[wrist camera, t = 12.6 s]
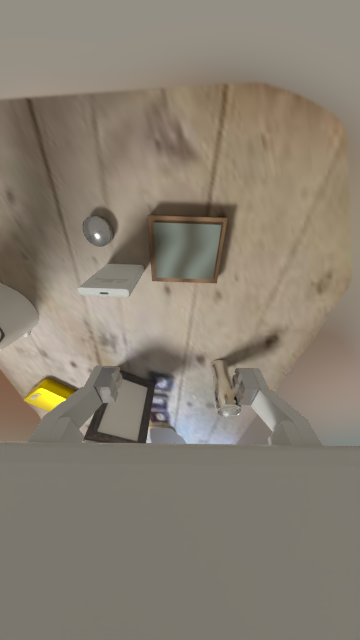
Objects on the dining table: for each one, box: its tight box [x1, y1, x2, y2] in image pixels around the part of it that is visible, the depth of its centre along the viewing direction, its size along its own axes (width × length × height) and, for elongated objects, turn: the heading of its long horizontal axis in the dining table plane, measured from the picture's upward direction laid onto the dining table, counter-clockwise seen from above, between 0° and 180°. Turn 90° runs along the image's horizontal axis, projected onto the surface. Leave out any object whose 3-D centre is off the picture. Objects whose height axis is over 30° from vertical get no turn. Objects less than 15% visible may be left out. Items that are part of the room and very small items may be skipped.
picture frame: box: [83, 370, 155, 443], centre depth 51 cm, size 16×2×21 cm, turn 58°
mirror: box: [148, 215, 228, 283], centre depth 33 cm, size 14×12×3 cm
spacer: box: [83, 216, 113, 246], centre depth 31 cm, size 5×5×2 cm
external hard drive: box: [77, 264, 144, 297], centre depth 31 cm, size 2×8×12 cm, turn 88°
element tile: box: [24, 379, 76, 411], centre depth 65 cm, size 15×15×5 cm
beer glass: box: [210, 360, 242, 417], centre depth 49 cm, size 7×7×15 cm
